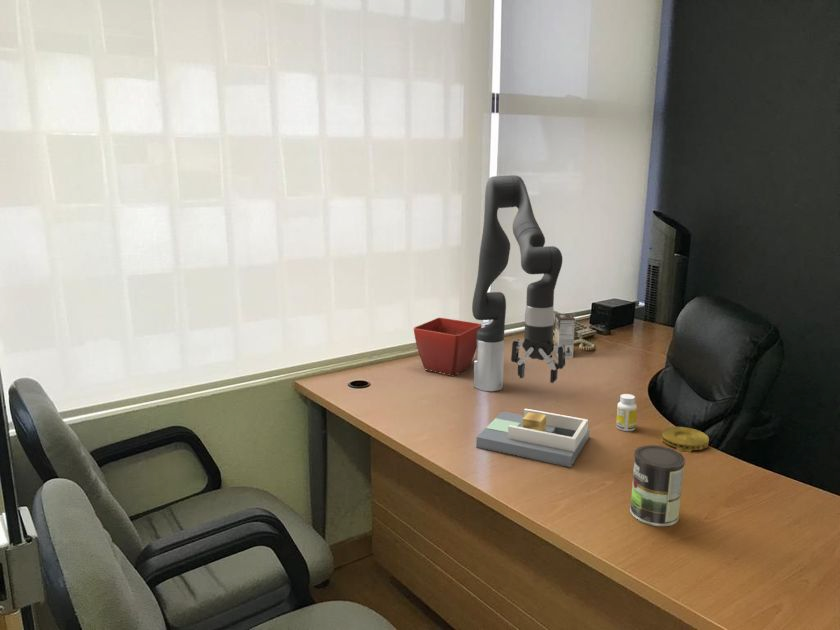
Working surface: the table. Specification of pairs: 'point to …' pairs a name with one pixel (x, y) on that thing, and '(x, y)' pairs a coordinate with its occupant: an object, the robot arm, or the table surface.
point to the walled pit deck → (536, 437)
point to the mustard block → (535, 421)
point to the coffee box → (564, 333)
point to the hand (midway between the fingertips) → (537, 379)
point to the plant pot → (446, 344)
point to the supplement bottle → (626, 413)
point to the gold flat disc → (685, 438)
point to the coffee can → (657, 485)
